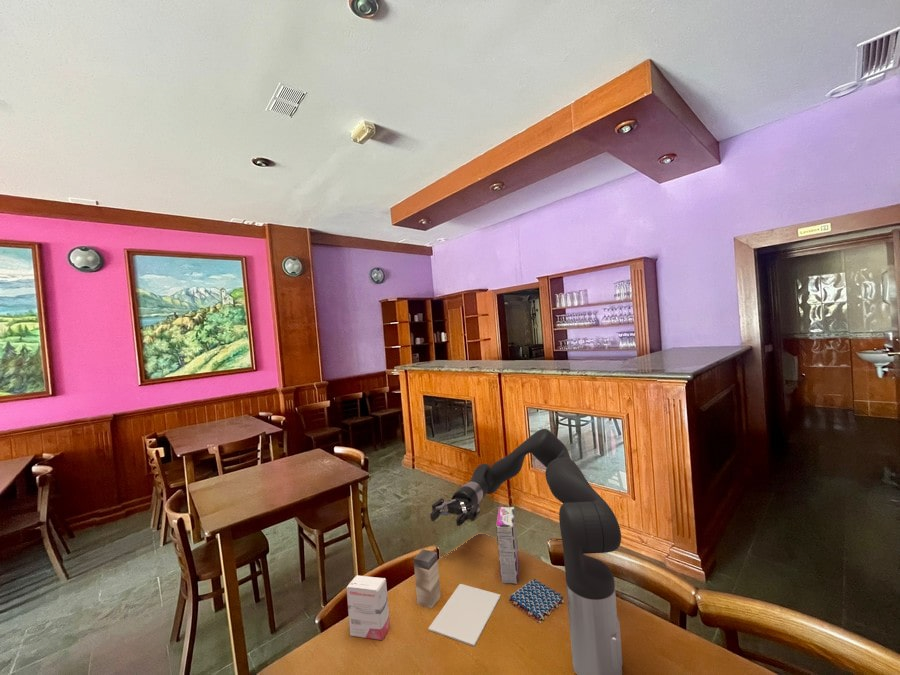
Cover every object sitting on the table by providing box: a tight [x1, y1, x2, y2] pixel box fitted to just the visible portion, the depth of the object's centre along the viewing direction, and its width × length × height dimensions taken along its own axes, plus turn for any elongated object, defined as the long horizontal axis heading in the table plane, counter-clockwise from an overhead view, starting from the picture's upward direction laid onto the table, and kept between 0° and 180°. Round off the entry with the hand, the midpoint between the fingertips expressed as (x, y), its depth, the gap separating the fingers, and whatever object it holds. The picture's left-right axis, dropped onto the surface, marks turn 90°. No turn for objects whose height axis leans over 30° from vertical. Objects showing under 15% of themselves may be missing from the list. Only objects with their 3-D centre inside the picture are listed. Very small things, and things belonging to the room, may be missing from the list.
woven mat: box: [508, 578, 565, 624], centre depth 93 cm, size 10×11×2 cm
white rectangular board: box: [427, 583, 502, 647], centre depth 92 cm, size 12×17×1 cm
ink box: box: [346, 575, 391, 641], centre depth 88 cm, size 9×5×12 cm, turn 74°
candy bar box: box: [495, 506, 520, 585], centre depth 106 cm, size 11×5×16 cm, turn 168°
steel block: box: [413, 548, 441, 610], centre depth 97 cm, size 4×4×12 cm
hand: (444, 520), depth 107 cm, fingers open, 8 cm apart
